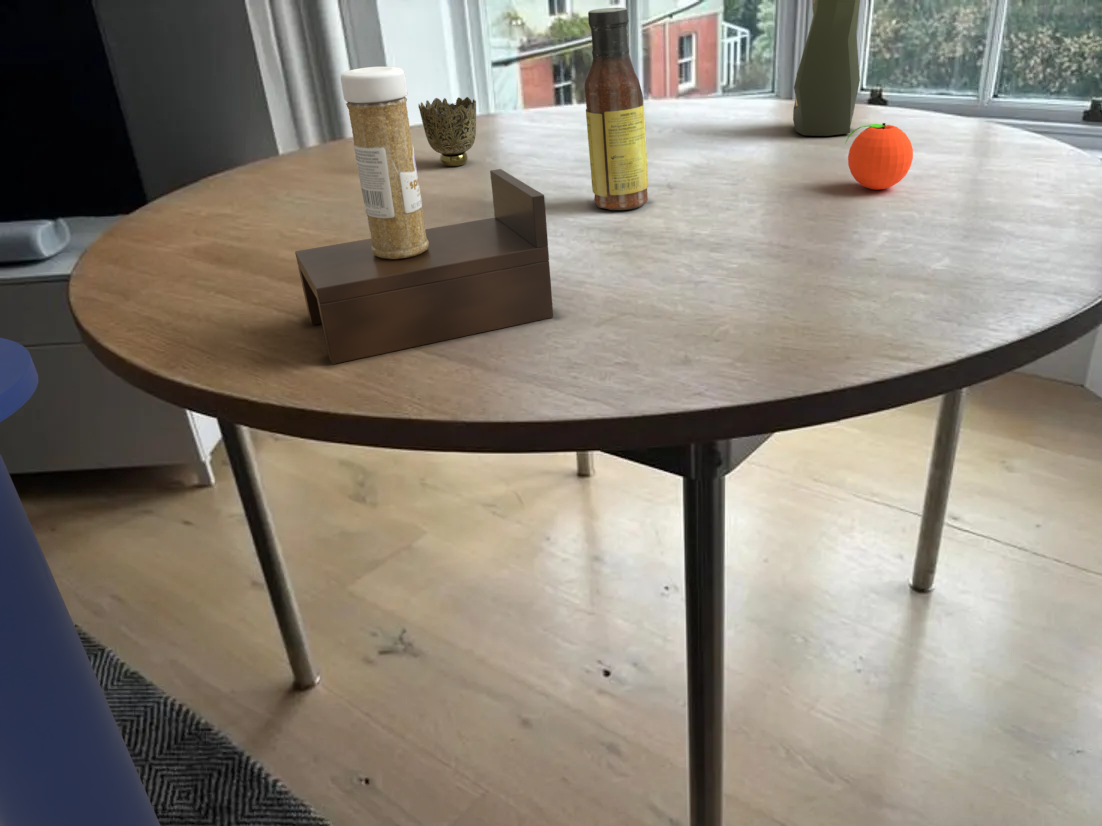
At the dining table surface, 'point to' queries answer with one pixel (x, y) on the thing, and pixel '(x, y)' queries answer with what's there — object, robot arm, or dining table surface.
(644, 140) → the sauce bottle
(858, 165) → the clementine
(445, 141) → the cup
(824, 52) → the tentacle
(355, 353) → the shelf
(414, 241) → the sprinkles bottle
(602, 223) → the dining table surface
